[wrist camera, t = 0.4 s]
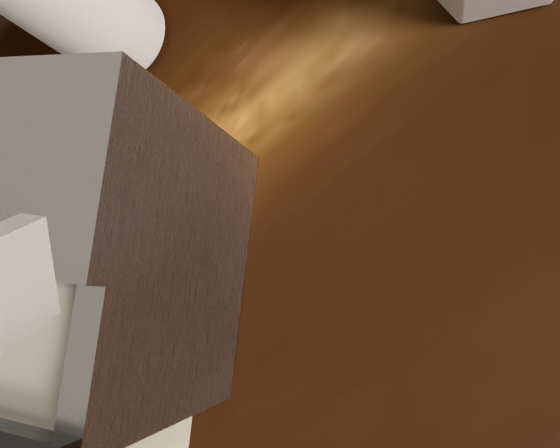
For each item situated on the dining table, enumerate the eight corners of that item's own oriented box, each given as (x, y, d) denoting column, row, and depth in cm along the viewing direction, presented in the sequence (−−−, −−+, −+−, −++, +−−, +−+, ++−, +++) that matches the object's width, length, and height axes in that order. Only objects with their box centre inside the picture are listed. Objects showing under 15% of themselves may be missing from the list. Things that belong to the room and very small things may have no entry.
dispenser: (125, 153, 33) (-76, 60, 20) (258, 157, 30) (122, 51, 17) (93, 370, 31) (-149, 420, 18) (230, 398, 28) (55, 480, 15)
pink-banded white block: (177, 537, 28) (19, 680, 17) (102, 513, 29) (-84, 632, 19) (209, 287, 29) (82, 281, 19) (136, 278, 31) (-18, 268, 21)
